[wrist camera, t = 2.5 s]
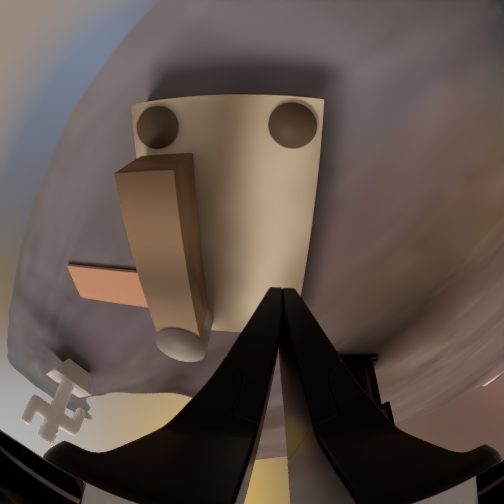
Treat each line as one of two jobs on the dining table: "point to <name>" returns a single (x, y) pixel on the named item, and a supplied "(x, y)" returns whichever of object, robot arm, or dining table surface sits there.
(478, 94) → the dining table surface
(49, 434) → the figurine
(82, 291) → the marker strip
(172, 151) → the birch seat
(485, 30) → the dining table surface
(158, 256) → the walnut leg
